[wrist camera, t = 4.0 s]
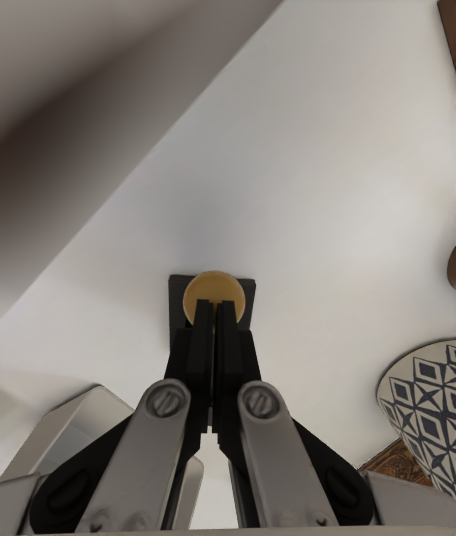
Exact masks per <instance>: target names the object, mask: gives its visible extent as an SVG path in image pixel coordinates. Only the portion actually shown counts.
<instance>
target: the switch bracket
mask: <svg viewBox="0 0 456 536" xmlns="http://www.w3.org/2000/svg"><path fill="white" fill-rule="evenodd" d="M194 278H195V276H178V275H171V276H170V278H169V280H168V282H169V326H170V352H171V348H172V344H173V340H174V336H175V332H176V329H177V327H178V328H193V325H192V324H191V323H190V321H189V320H188V318H187V317H186V315H185V311H184V307H183V297H184V293H185V290H186V288H187V286H188V285H189V283H190V282H191V281H192V280H193V279H194ZM236 280H237V281H238V282H239V283H240V285H241V287H242V289H243V291H244V295H245V309H244V312H243V315H242V317H241V319H240V320H239V322H238V323H237V325H238V330H249V328H250V322H251V315H252V309H253V302H254V296H255V289H256V283H255V280H247V279H236Z"/></svg>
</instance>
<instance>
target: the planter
mask: <svg viewBox="0 0 456 536" xmlns="http://www.w3.org/2000/svg"><path fill="white" fill-rule="evenodd" d="M377 400H378V404H379V406H380V408H381V410H382V411H383V413H384V414H385V416H386V417H387V419H388V420H389V422H390V423H391V424H392V426H393V427H394V429H395V430H396V432H397V433H398V435H399V436H400V438H401V439H402V441H403V442H404V444H405V445H406V447H407V448H408V450H409V451H410V453H411V454H412V456H413V457H414V458H415V460H416V461H417V463H418V464H419V466H420V467H421V469H422V470H423V472H424V473H425V475H426V476H427V478H428V479H429V481H430V482H431V484H432V485H433V486H434V488H436V489H438V490H440V491H442V492H445V493H447V494H448V495H450V496H451V497H452V498H454V499H455V500H456V340H453V341H444V342H439V343H435V344H431V345H428V346H425V347H423V348H420V349H418V350H416V351H414V352H412V353H410V354H408V355H407V356H405V357H404V358H402V359H401V360H399V361H398V362H397V363H396V364H395V365H393V367H392V368H391V369H390V370H389V371H388V372H387V373H386V375H385V376H384V377H383V379H382V381H381V383H380V385H379V388H378V392H377Z"/></svg>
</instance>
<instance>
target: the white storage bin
mask: <svg viewBox="0 0 456 536" xmlns="http://www.w3.org/2000/svg"><path fill="white" fill-rule="evenodd" d="M134 412H135V410H134V409H133V408H131V407H130V406H129V405H127V404H126V403H125V402H124V401H122V400H121V399H120V398H118V397H117V396H116V395H114V394H113V393H112V392H111V391H109V390H108V389H107V388H105V387H103V386H98V387H95V388H93V389H91V390H90V391H88V392H86V393H84V394H82V395H81V396H79V397H77V398H75V399H73V400H71V401H70V402H68V403H66V404H64V405H62V406H61V407H59V408H57V409H55V410H53V411H52V412H50V413H48V414H46V415H45V416H43V417H42V419H41V420H40V421H39V423H38V424H37V426H36V427H35V428H34V430H33V431H32V433H31V434H30V436H29V437H28V438H27V440H26V441H25V443H24V444H23V446H22V447H21V448H20V450H19V451H18V453H17V454H16V455H15V457H14V458H13V460H12V461H11V463H10V464H9V465H8V467H7V468H6V470H5V471H4V473H3V474H2V475H1V477H0V482H2V481H6V480H10V479H13V478H17V477H21V476H25V475H29V474H33V473H37V472H40V474H41V476H42V475H45V474H49V473H52V472H53V471H54V470H55V469H57V468H58V467H59V466H60V465H61V464H63V463H64V462H65V461H67V460H68V459H70V458H71V457H72V456H74V455H75V454H77V453H78V452H79V451H81V450H82V449H84V448H85V447H86V446H88V445H89V444H91V443H92V442H93V441H95V440H96V439H98V438H99V437H100V436H102V435H103V434H105V433H106V432H107V431H109V430H110V429H112V428H113V427H114V426H116V425H117V424H119V423H120V422H121V421H123V420H124V419H126V418H127V417H128V416H130V415H131V414H132V413H134ZM203 473H204V468H203V464H202V462H201V461H200V460H199V459H197V458H196V457H195V456H194V455H193V456H192V458H191V459H190V460H189V464H188V469H187V474H186V478H185V483H184V487H183V492H182V496H181V501H180V505H179V510H178V514H177V519H176V523H175V528H174V530H189V528H190V524H191V520H192V517H193V513H194V509H195V505H196V501H197V497H198V494H199V490H200V486H201V482H202V478H203Z"/></svg>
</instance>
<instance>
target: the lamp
mask: <svg viewBox="0 0 456 536" xmlns="http://www.w3.org/2000/svg"><path fill="white" fill-rule="evenodd" d="M447 273H448V279H449V282H450V283H451V285H452V286H453V287H454V289H456V247H455V249H454V251H453V253H452V255H451V257H450V260H449V264H448V271H447Z"/></svg>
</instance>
